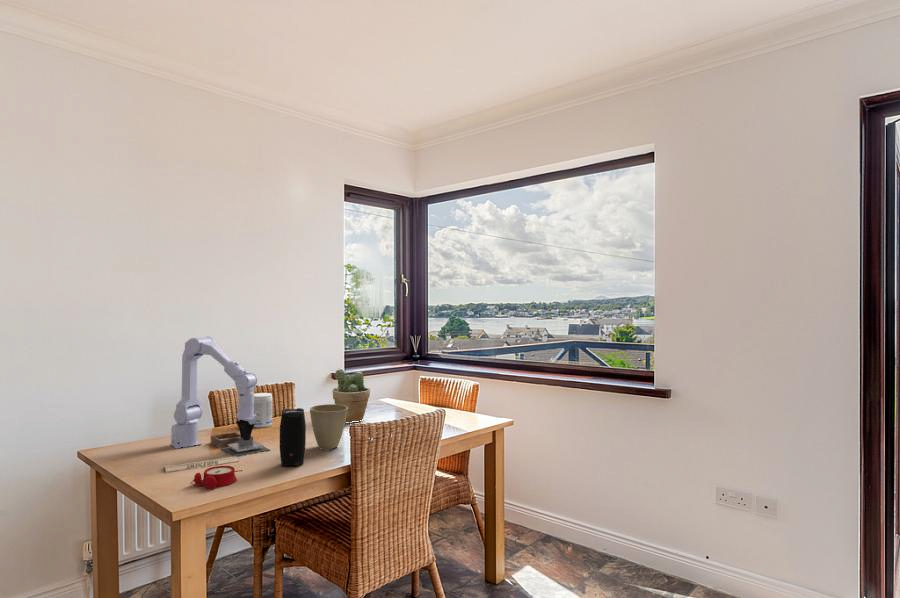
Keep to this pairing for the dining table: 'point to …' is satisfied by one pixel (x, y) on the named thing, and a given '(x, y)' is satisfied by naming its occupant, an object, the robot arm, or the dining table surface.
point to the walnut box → (225, 439)
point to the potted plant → (351, 394)
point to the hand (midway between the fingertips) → (245, 439)
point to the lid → (245, 445)
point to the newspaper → (200, 464)
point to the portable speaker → (292, 437)
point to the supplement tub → (263, 409)
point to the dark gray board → (243, 452)
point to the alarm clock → (216, 477)
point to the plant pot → (328, 424)
